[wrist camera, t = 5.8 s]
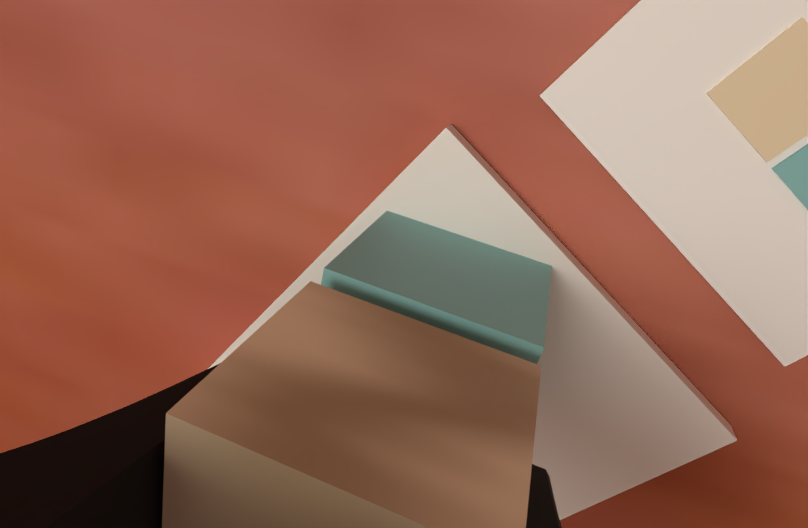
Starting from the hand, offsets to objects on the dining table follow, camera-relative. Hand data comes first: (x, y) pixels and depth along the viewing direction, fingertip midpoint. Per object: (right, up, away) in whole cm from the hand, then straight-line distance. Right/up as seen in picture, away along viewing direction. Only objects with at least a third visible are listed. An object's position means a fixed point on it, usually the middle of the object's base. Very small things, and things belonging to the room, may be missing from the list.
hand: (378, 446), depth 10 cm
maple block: (0, 0, +1) cm, 1 cm away
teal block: (+2, +2, +5) cm, 6 cm away
